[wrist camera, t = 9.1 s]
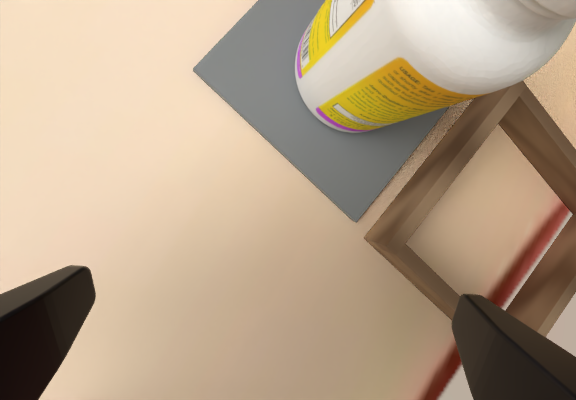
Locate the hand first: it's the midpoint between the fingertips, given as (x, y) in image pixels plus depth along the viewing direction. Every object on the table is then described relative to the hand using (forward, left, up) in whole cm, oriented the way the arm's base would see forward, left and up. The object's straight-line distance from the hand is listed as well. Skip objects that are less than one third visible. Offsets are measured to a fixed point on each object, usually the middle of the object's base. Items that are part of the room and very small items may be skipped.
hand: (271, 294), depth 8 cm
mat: (+11, +1, -10) cm, 15 cm away
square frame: (+11, -13, -10) cm, 20 cm away
